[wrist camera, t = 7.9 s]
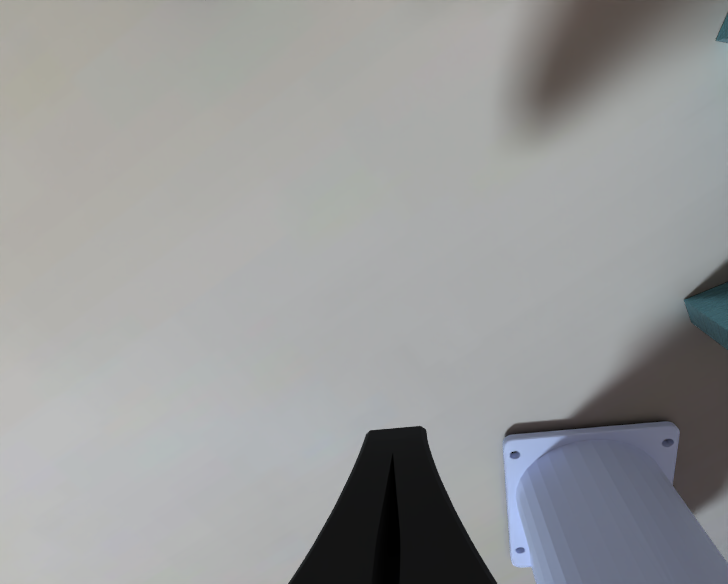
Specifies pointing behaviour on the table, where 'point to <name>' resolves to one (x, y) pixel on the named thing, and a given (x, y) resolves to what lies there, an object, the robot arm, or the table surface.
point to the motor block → (720, 304)
